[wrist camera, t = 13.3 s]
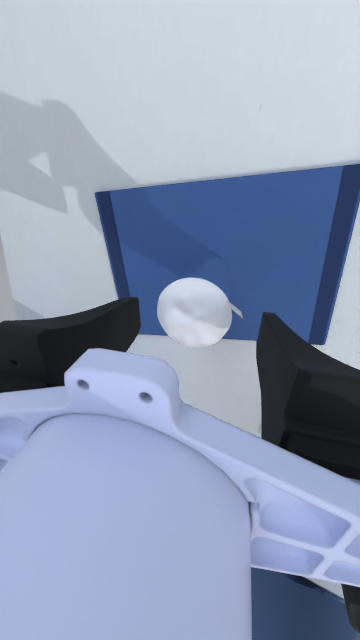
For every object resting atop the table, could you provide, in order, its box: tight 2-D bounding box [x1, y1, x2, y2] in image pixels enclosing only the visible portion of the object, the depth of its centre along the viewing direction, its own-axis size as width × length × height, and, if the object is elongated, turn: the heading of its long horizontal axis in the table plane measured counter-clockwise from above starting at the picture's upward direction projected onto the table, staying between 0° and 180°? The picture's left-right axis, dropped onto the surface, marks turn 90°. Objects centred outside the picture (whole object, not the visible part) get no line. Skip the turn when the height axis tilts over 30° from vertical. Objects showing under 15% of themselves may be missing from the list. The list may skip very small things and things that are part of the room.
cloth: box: [95, 164, 360, 345], centre depth 21 cm, size 20×14×1 cm
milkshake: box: [157, 255, 244, 348], centre depth 17 cm, size 5×5×10 cm
